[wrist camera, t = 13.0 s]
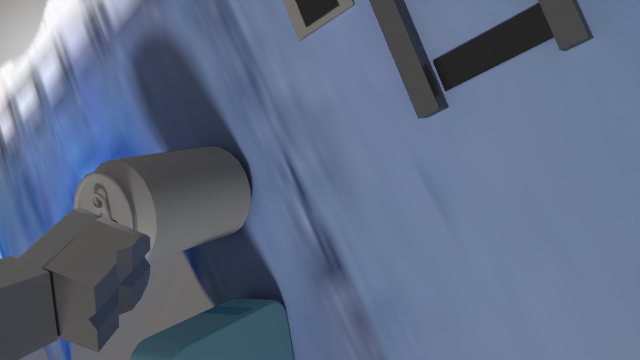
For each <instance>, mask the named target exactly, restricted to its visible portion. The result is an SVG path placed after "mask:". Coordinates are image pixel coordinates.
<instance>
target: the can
mask: <svg viewBox="0 0 640 360" xmlns="http://www.w3.org/2000/svg"><path fill="white" fill-rule="evenodd" d="M250 205H251V193H250V186H249V182H248V178H247V175H246V173H245V171H244V169H243V167H242V166H241V164H240V162H239V161H238V160H237V159H236V158H235V157H234V156H233V155H232V154H231V153H230V152H228V151H226V150H225V149H223V148H221V147H214V146H206V147H199V148H192V149H185V150H178V151H171V152H164V153H156V154H149V155H142V156H135V157H128V158H121V159H114V160H110V161H107V162H105V163H102V164H101V165H100V166H99V167H98V168H97V169H96V170H95V171H94V172H93V173H90V174H87V175H86V176H85V177H84V178H83V179H82V180H81V181H80V182H79V185H78V187H77V190H76V192H75V197H74V205H73V208H74V209H77V208H82V209H84V210H87V211H89V212H92V213H94V214H97V215H99V216H102V217H105V218H107V219H110V220H112V221H114V222H117V223H119V224H122V225H124V226H127V227H129V228H131V229H134V230H136V231H139V232H141V233H143V234H146V235H148V236H149V237H150V251H149V252H148V253H147V254H146V255H145V258H146V260H147V261H148V262H149V261H152V260H155V259H158V258H161V257H165V256H168V255H171V254H174V253H177V252H180V251H183V250H186V249H189V248H192V247H195V246H198V245H201V244H204V243H207V242H210V241H214V240H217V239H220V238H223V237H226V236H229V235H232V234H234V233H235V232H236V231H238V230H239V229H240V228H241V227H242V226H243V224H244V222H245V221H246V219H247V217H248V213H249V209H250Z"/></svg>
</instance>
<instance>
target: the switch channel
mask: <svg viewBox="0 0 640 360" xmlns="http://www.w3.org/2000/svg"><path fill="white" fill-rule="evenodd" d="M369 1H370V3H371V6H372V8H373V11H374V13H375V15H376V18H377V20H378V23H379V25H380V27H381V30H382V32H383V35H384V37H385V39H386V42H387V44H388V47H389V49H390V51H391V54H392V56H393V59H394V61H395V63H396V66H397V68H398V71H399V73H400V76H401V78H402V80H403V83H404V85H405V88H406V90H407V92H408V95H409V97H410V100H411V102H412V104H413V107H414V109H415V112H416V114H417V116H418V119H420V118H427V117H430V116H432V115H434V114H436V113H438V112H440V111H442V110H444V109H447V108H449V107H448V105H447V102H446V100H445V98H444V95H443V93H442V90H441V88H440V86H439V83H438V81H437V79H436V76H435V74H434V71H433V69H432V67H431V64H430V62H429V60H428V57H427V55H426V52H425V50H424V48H423V45H422V43H421V41H420V38H419V36H418V33H417V31H416V29H415V26H414V24H413V22H412V19H411V17H410V14H409V12H408V10H407V7H406V5H405V3H404V0H369ZM538 1H539V4H540V5H538V6H536V7H534V8H532V9H530V10H528V11H527V12H525V13H523V14H521V15H519V16H517V17H515V18H514V19H512V20H510V21H508V22H506V23H504V24H503V25H501V26H499V27H497V28H495V29H493V30H491V31H490V32H488V33H486V34H484V35H482V36H480V37H478V38H477V39H475V40H473V41H471V42H469V43H467V44H465V45H464V46H462V47H460V48H458V49H456V50H454V51H453V52H451V53H449V54H447V55H445V56H443V57H441V58H440V59H438V60H436V61H434V62H433V63H434V65H435V68H436V70H437V73H438V75H439V77H440V80H441V82H442V84H443V87H444V89H445V91H447V90H449V89H451V88H453V87H455V86H457V85H459V84H461V83H463V82H465V81H467V80H469V79H471V78H473V77H475V76H477V75H479V74H481V73H483V72H485V71H487V70H489V69H491V68H493V67H495V66H497V65H499V64H501V63H503V62H505V61H507V60H509V59H511V58H513V57H515V56H517V55H519V54H521V53H523V52H525V51H527V50H529V49H531V48H533V47H535V46H537V45H539V44H541V43H543V42H545V41H547V40H549V39H551V38H553V37H555V40H556V42H557V44H558V46H559V49H560V50H563V51H567V50H569V49H571V48H574V47H576V46H578V45H580V44H582V43H584V42H586V41H588V40H590V39H592V38H593V35H592V33H591V31H590V29H589V27H588V24H587V22H586V20H585V18H584V15H583V13H582V11H581V9H580V6H579V4H578V2H577V0H538ZM283 2H284V4H285V7H286V9H287V12H288V14H289V17H290V19H291V22H292V24H293V27H294V29H295V31H296V34H297V36H298V39H299V41H301V40H302V39H304V38H305V37H307V36H308V35H310V34H311V33H313V32H315V31H316V30H318V29H319V28H321V27H322V26H324V25H325V24H327V23H328V22H330V21H331V20H333V19H334V18H336V17H337V16H339V15H340V14H342V13H343V12H345V11H346V10H348V9H349V8H351V7H352V6H354V5H355V4H354V1H353V0H283Z"/></svg>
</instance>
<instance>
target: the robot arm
mask: <svg viewBox="0 0 640 360" xmlns="http://www.w3.org/2000/svg"><path fill="white" fill-rule="evenodd" d="M149 251H150V237H149V236H148V235H146V234H143V233H141V232H139V231H136V230H134V229H131V228H129V227H127V226H124V225H122V224H119V223H117V222H114V221H112V220H110V219H107V218H105V217H102V216H99V215H97V214H94V213H92V212H89V211H87V210H84V209H82V208H77V209H74V210H72V211H70V212H69V213H68V214H67V215H66V216H64V217H63V218H62V219H61V220H60V221H59V222H58V223H57V224H55V225H54V226H53V227H52V228H51V229H50V230H49V231H48V232H46V233H45V234H44V235H43V236H42V237H41V238H40V239H39V240H37V241H36V242H35V243H34V244H33V245H32V246H31V247H30V248H28V249H27V250H26V251H25V252H24V253H23V254H22V255H21V256H20V257H18V258H14V257H12V256H9V257H6V258H2V259H0V360H19V359H21V358H23V357H25V356H27V355H29V354H31V353H33V352H35V351H37V350H39V349H41V348H43V347H45V346H47V345H49V344H51V343H53V342H54V341H56V340H58V337H59V338H62V339H64V340H67V341H70V342H72V343H75V344H77V345H80V346H83V347H85V348H88V349H90V350H93V351H96V352H99V351H100V350H101V349H102V347H103V346H104V345H105V344H106V342H107V341H108V340H109V339H110V337H111V336H112V335H113V334H114V332H115V331H116V330H117V328H118V327H119V315H121V314H123V313H126V312H128V311H131V310H133V308H134V307H135V306H136V304H137V303H138V302H139V300H140V299H141V297H142V295H143V293H144V291H145V289H146V287H147V284H148V280H149V276H150V265H149V263H148V261H147V260H146V258H145V255H146V254H147V253H148V252H149Z"/></svg>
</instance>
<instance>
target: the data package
mask: <svg viewBox="0 0 640 360" xmlns="http://www.w3.org/2000/svg"><path fill="white" fill-rule="evenodd" d="M131 360H294V356H293V350H292V344H291V338H290V332H289V326H288V320H287V314H286V310H285V308H284V306H283V305H282V304H281V303H280V302H279V301H277V300H267V299H240V298H234V299H231V300H228V301H226V302H224V303H222V304H220V305H218V306H215V307H213V308H211V309H209V310H207V311H204V312H202V313H200V314H198V315H196V316H194V317H191V318H189V319H187V320H185V321H183V322H181V323H178V324H176V325H174V326H172V327H170V328H167V329H165V330H163V331H161V332H159V333H157V334H154V335H152V336H150V337H148V338H146V339H144V340H142V341H141V342H140V343H139V344H138V345H137V346H136V348H135V349H134V351H133V353H132V356H131Z"/></svg>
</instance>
